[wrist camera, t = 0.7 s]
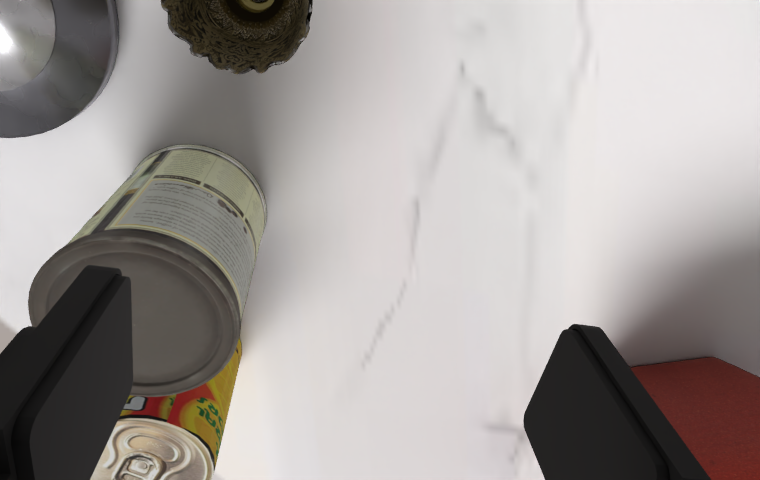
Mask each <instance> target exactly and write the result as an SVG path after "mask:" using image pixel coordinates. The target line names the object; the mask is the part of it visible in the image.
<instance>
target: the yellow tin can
mask: <svg viewBox="0 0 760 480" xmlns="http://www.w3.org/2000/svg"><path fill="white" fill-rule="evenodd" d="M241 355H242V349H241V341H240V339H239V340H238V344H237V347H236V349H235V352H234V354H233V356H232V358H231V359H230V361H229V363H228V364H227V365H226V366H225V368H224V369H223V370H222V371H221V372H220V373H219V374H217V375H216V376H215V377H214V378H212V379H211V380H210V381H208V382H206V383H205V384H203V385H201V386H199V387H197V388H194V389H192V390H189V391H186V392H183V393H179V394H175V395H169V396H160V397H143V396H131V395H129V397H128V400H127V402H126V404H125V406H124V408H123V410H122V412H121V415H120V417H119V419H118V421H117V423H116V425H115V427H114V430H113V432H112V434H111V436H110V438H109V440H108V442H107V445H106V447H105V449H104V451H103V453H102V455H101V457H100V460H99V462H98V464H97V466H96V468H95V470H94V472H93V475H92V477H91V479H90V480H211V479H212V476H213V474H214V470H215V466H216V462H217V457H218V453H219V449H220V445H221V440H222V436H223V432H224V427H225V423H226V419H227V415H228V410H229V406H230V402H231V397H232V393H233V389H234V385H235V380H236V376H237V372H238V368H239V363H240V359H241Z"/></svg>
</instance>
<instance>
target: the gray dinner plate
mask: <svg viewBox="0 0 760 480" xmlns="http://www.w3.org/2000/svg"><path fill="white" fill-rule="evenodd" d="M118 40H119V28H118V15H117V9H116V3H115V0H0V138H16V137H27V136H32V135H36V134H41V133H44V132H47V131H49V130H52V129H55V128H57V127H59V126H61V125H62V124H64V123H66V122H68V121H69V120H71V119H73V118H74V117H76V116H77V115H79V114H80V113H82V112H83V111H84V110H85V109H87V108H88V107H89V106H90V105H91V104H92V103H93V102H94V101H95V100H96V99H97V97H98V96H99V95H100V94H101V92H102V91H103V89H104V87H105V86H106V84H107V83H108V80H109V78H110V76H111V73H112V71H113V68H114V64H115V60H116V56H117V50H118Z"/></svg>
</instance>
